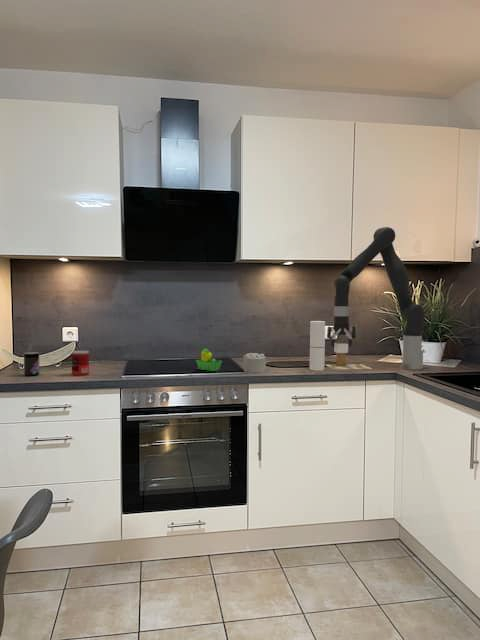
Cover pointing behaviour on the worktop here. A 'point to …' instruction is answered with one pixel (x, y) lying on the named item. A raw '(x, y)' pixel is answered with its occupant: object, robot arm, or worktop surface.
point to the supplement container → (31, 364)
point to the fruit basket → (208, 362)
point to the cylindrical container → (317, 345)
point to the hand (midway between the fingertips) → (341, 346)
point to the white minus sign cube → (340, 347)
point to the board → (348, 366)
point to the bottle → (340, 359)
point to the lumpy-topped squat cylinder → (254, 363)
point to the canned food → (80, 363)
